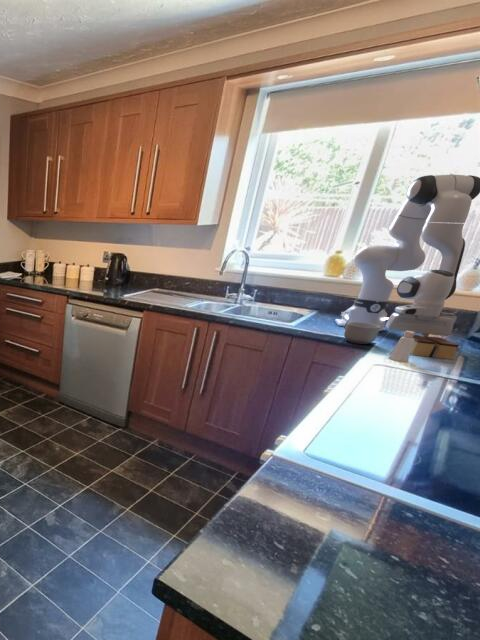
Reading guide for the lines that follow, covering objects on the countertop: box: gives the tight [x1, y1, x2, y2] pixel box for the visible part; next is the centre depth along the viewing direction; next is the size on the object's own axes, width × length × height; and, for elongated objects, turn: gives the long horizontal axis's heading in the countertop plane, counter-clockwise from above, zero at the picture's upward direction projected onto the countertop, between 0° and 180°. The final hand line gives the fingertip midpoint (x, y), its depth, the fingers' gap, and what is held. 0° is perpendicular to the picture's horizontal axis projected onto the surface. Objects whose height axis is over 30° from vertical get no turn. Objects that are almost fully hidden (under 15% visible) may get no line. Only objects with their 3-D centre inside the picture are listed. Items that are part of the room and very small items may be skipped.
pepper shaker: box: [388, 331, 416, 363], centre depth 159 cm, size 5×5×11 cm
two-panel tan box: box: [401, 334, 459, 360], centre depth 170 cm, size 12×12×6 cm
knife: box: [429, 345, 439, 359], centre depth 174 cm, size 22×2×4 cm, turn 157°
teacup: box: [343, 321, 380, 345], centre depth 184 cm, size 14×11×8 cm
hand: (411, 342), depth 180 cm, fingers open, 3 cm apart
